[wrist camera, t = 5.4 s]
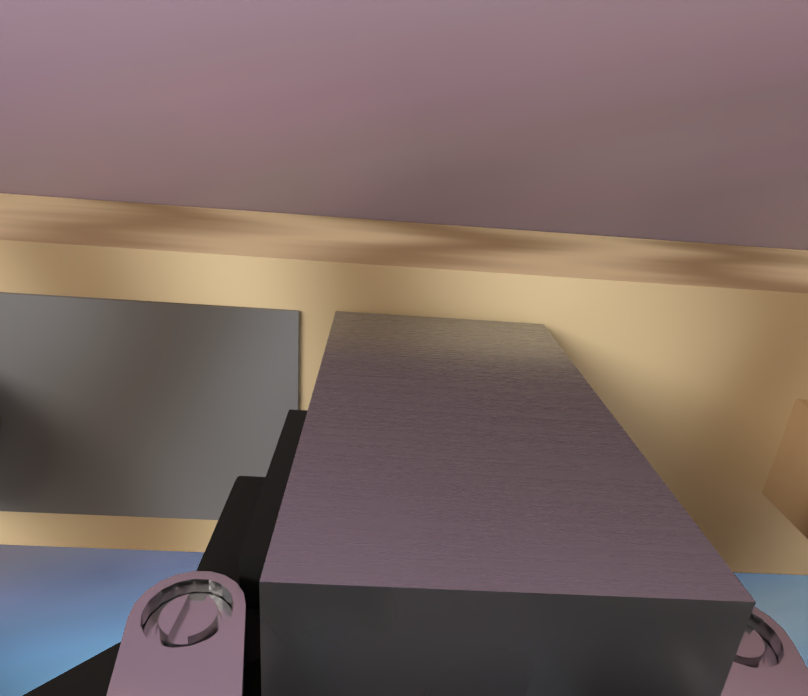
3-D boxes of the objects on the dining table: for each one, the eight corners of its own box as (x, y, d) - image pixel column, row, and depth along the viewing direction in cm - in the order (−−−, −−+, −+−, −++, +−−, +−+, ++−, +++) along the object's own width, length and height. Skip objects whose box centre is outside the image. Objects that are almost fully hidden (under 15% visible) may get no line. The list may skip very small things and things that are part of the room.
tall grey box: (543, 324, 11) (755, 602, 5) (501, 570, 13) (607, 995, 7) (335, 310, 11) (258, 581, 5) (327, 562, 13) (266, 991, 7)
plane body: (842, 253, 16) (1221, 368, 9) (766, 464, 19) (1012, 690, 12) (-44, 190, 15) (-463, 263, 8) (4, 427, 18) (-273, 655, 10)
